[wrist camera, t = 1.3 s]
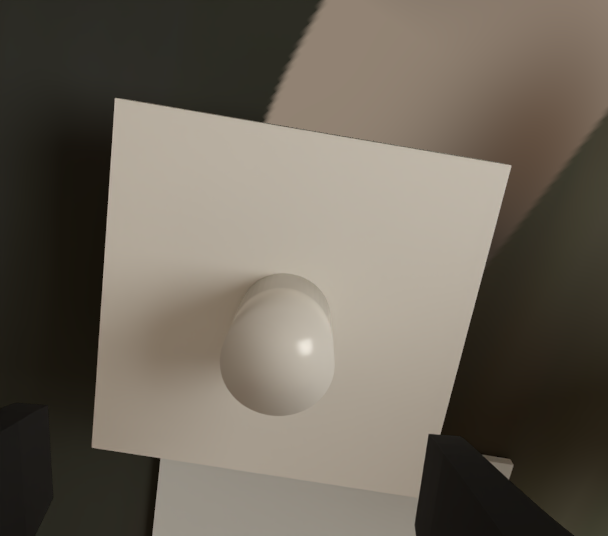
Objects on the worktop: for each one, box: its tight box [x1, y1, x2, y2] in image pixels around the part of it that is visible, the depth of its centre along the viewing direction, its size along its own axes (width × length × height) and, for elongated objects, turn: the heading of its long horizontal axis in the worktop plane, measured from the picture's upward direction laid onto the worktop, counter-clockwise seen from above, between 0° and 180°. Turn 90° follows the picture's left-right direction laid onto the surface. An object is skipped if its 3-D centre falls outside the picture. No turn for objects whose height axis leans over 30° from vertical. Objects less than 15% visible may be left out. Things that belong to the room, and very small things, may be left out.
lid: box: [92, 98, 511, 498], centre depth 15 cm, size 11×11×4 cm
